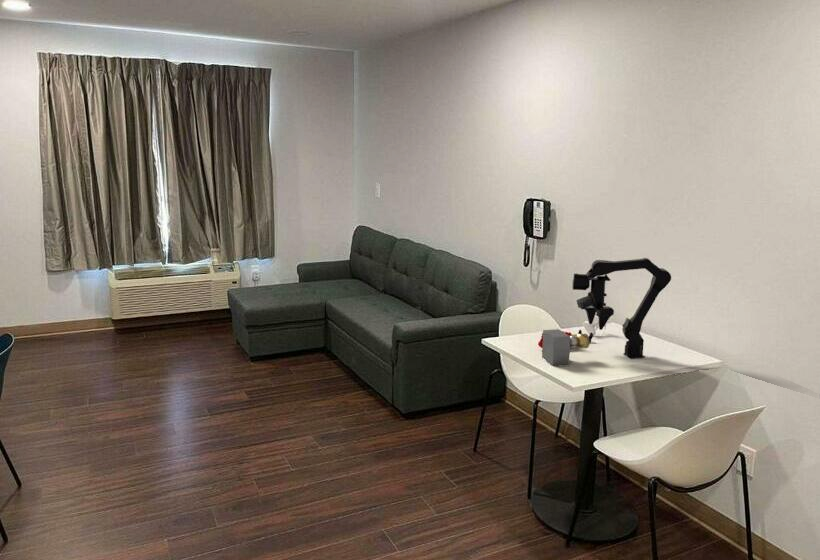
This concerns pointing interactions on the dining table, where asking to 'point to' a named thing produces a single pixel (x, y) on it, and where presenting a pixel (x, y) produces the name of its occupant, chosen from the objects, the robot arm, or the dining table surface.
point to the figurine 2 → (592, 326)
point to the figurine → (567, 334)
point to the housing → (556, 347)
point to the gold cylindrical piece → (579, 341)
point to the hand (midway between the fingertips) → (595, 326)
